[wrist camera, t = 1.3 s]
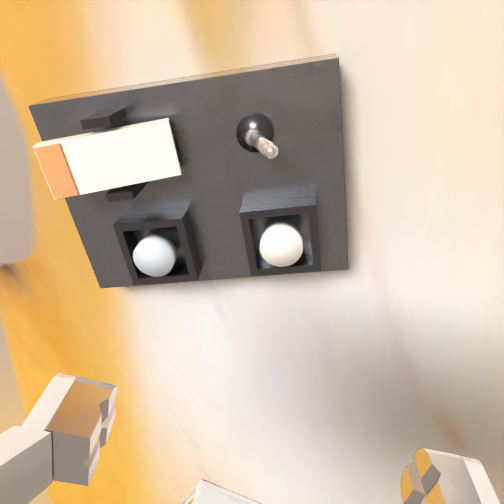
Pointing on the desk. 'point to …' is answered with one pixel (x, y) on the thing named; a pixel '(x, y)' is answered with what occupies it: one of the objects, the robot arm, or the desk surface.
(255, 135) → the toggle lever
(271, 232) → the button
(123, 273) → the panel
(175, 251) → the button
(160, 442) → the desk surface
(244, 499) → the tea box
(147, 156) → the rocker
